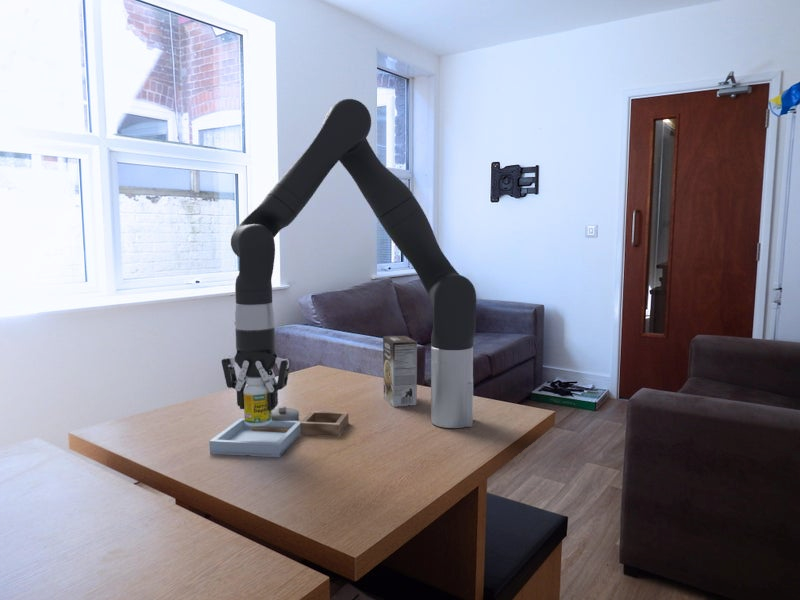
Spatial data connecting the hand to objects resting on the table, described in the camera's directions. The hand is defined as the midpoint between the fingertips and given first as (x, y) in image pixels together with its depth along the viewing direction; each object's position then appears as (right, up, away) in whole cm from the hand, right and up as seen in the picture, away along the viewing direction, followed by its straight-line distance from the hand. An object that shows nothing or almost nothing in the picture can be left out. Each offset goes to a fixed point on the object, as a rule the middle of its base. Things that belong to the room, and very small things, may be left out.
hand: (257, 408), depth 116 cm
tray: (0, -7, +1) cm, 7 cm away
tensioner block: (+7, -6, +10) cm, 13 cm away
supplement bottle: (0, -3, 0) cm, 3 cm away
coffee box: (+29, -4, +30) cm, 41 cm away
